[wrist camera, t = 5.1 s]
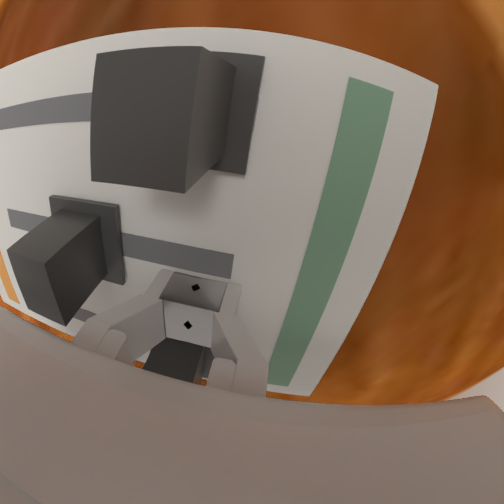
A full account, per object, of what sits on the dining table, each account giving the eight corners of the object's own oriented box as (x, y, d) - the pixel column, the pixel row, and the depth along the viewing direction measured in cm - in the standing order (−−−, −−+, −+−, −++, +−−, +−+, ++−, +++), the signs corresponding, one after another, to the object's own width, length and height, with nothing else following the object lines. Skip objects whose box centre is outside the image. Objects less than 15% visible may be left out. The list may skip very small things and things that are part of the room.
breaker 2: (222, 334, 13) (204, 403, 10) (217, 376, 15) (203, 434, 12) (147, 316, 13) (115, 377, 10) (154, 360, 15) (132, 413, 12)
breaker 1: (265, 57, 7) (249, 25, 4) (246, 173, 9) (220, 222, 6) (148, 52, 7) (74, 39, 4) (139, 158, 9) (69, 197, 6)
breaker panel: (406, 85, 9) (439, 85, 7) (308, 361, 19) (309, 396, 16) (-7, 81, 10) (-37, 88, 7) (21, 282, 19) (3, 301, 16)
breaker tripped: (117, 204, 10) (56, 255, 7) (125, 281, 12) (84, 341, 9) (52, 194, 10) (-7, 234, 7) (65, 264, 12) (21, 311, 9)
